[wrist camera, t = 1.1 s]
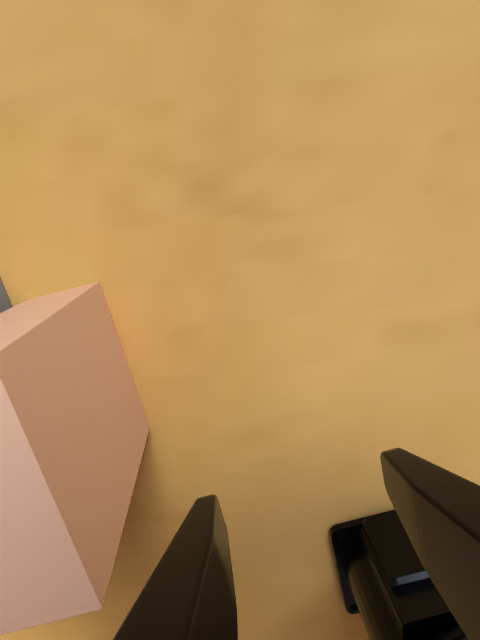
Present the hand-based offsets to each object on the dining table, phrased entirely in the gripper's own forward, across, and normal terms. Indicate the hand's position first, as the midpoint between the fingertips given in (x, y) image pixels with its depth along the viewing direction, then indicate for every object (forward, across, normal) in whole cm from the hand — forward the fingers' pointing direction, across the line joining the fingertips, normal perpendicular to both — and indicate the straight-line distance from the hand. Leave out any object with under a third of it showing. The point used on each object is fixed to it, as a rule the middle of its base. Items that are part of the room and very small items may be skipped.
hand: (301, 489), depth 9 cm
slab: (+12, +8, 0) cm, 15 cm away
